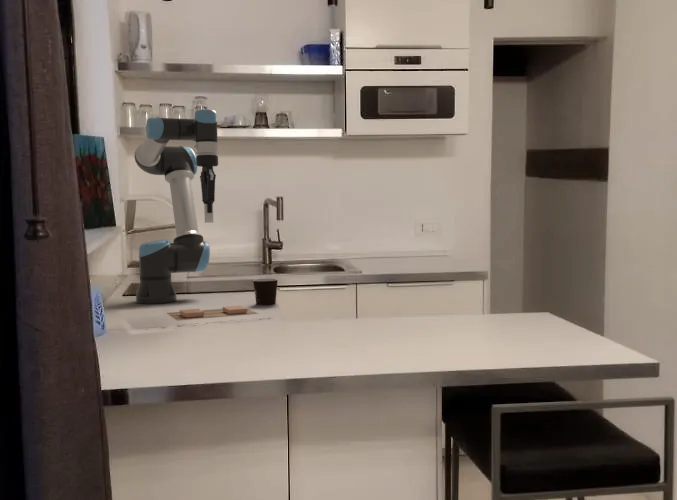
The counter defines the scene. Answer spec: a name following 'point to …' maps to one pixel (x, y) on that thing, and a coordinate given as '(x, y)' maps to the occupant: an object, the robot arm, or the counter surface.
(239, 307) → the tile
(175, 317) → the board
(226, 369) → the counter surface
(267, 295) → the coffee mug
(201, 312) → the tile
